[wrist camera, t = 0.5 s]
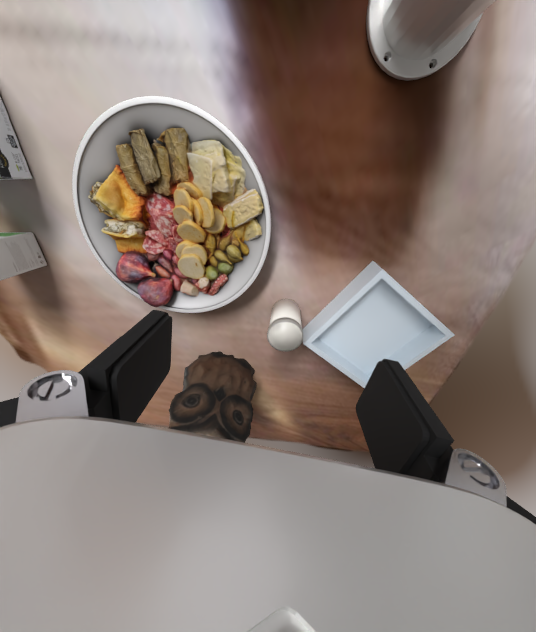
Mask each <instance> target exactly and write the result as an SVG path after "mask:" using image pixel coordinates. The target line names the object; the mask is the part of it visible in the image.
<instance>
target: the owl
mask: <svg viewBox="0 0 536 632" xmlns="http://www.w3.org/2000/svg"><path fill="white" fill-rule="evenodd" d="M254 372H255V370H254V369H253V368H252V367H251V365H250V364H249V363H248V362H247V361H246V360H245V359H241V358H240V359H237V358H234V356H233V355H225V354H223V353H222V352H212V353H210V354H207V355H200V356H199V357H198V359H197V360H195V361H194V362H193V363H192V364H191V365H189V366H188V367H186V368H185V372H184V382H183V385H184V388H183V391H182V392H180V393H178V394H176V395H175V397H174V399H173V400H172V401H171V405H170V409H169V412H170V424H169V429H174V430H180V431H185V432H190V433H196V434H201V435H206V436H212V437H217V438H222V439H227V440H233V441H238V442H243V443H245V441H246V439H247V438H248V436H249V435H250V429H251V422H252V417H253V408H252V405H251V400H252V398H253V395H254V392H255V390H256V382H255V381H254V380H253V378H252V376H253V374H254Z"/></svg>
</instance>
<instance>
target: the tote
mask: <svg viewBox="0 0 536 632" xmlns="http://www.w3.org/2000/svg"><path fill="white" fill-rule="evenodd" d="M453 336H454V334H453V333H452V332H451V331H450V330H449V329H448V328H447V327H446V326H445V325H443V324H442V323H441V322H440V321H439V320H438V319H437V318H436V317H435V316H434V315H432V314H431V313H430V312H429V311H428V310H427V309H426V308H425V307H424V306H423V305H421V304H420V303H419V302H418V301H417V300H416V299H415V298H414V297H413V296H412V295H410V294H409V293H408V292H407V291H406V290H405V289H404V288H403V287H402V286H401V285H399V284H398V283H397V282H396V281H395V280H394V279H393V278H392V277H391V276H390V275H389V274H387V273H386V272H385V271H384V270H383V269H382V268H381V267H380V266H378V265H377V264H376V263H375V262H374V261H372V262H371V263H370V264H369V265H368V266H367V267H366V268H365V269H364V270H363V271H362V272H361V273H360V274H359V275H358V276H356V277H355V278H354V279H353V280H352V281H351V282H350V283H349V284H348V285H347V286H346V287H345V288H344V289H343V290H342V291H341V292H340V293H339V294H338V295H337V296H336V297H335V298H334V299H333V300H332V301H331V302H330V303H329V304H328V305H327V306H326V307H325V308H324V309H323V310H322V311H321V312H320V313H319V314H318V315H317V316H316V317H315V318H313V319H312V320H311V321H310V322H309V323H308V324H307V325H306V326H305V327H304V328H303V344H304V345H305V346H307V347H308V348H310V349H311V350H312V351H314V352H315V353H316V354H318V355H319V356H321V357H322V358H323V359H325V360H326V361H327V362H329V363H330V364H332V365H333V366H334V367H336V368H337V369H338V370H340V371H341V372H343V373H344V374H345V375H347V376H348V377H349V378H351V379H352V380H354V381H355V382H356V383H358V384H359V385H360V386H362V387H363V388H365V386H366V384H367V382H368V380H369V378H370V376H371V375H372V373H373V371H374V369H375V367H376V365H377V363H378V362H379V361H382V360H383V359H389V360H394V361H398V362H399V363H400V364H401V366H402V367H403V369H404V370H405V369H407V368H408V367H410V366H411V365H413V364H414V363H416V362H417V361H418V360H420V359H421V358H423V357H424V356H426V355H427V354H428V353H430V352H431V351H433V350H434V349H436V348H437V347H438V346H440V345H441V344H443V343H444V342H446V341H447V340H448V339H450V338H451V337H453Z"/></svg>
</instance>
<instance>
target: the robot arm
mask: <svg viewBox="0 0 536 632" xmlns="http://www.w3.org/2000/svg"><path fill="white" fill-rule="evenodd" d="M495 1H496V0H369V3H368V8H367V21H366V28H367V39H368V43H369V47H370V51H371V53H372V55H373V57H374V59H375V61H376V63H377V64H378V65H379V67H380V68H381V69H382V70H383V71H384V72H385V73H387V74H388V75H389V76H392V77H394V78H396V79H400V80H406V81H408V80H417V79H420V78H424V77H427V76H429V75H430V74H432V73H434V72H436V71H438V70H439V69H440V68H442V67H443V66H444V65H446V64H447V63H448V62H449V61H450V60H451V59H452V58H453V57H455V56H456V55H457V54H458V52H459V51H460V50H461V49H462V48H463V46H464V45H465V44H466V43H467V41H468V40H469V38H470V37H471V35H472V33H473V32H474V30H475V29H476V26H477V24H478V22H479V20H480V18H481V16H482V14H483V12H484V11H485V10H486V9H487V8H488V7H489V6H490V5H491V4H492V3H494V2H495ZM384 58H387V61H384ZM429 64H430V65H431V68H430V67H429ZM171 338H172V317H170V316H169V315H168V313H167V312H162V311H157V310H153V311H151V312H150V313H149V314H148V315H147V316H145V317H144V318H143V319H142V320H141V321H140V322H138V323H137V324H136V325H135V326H134V327H132V328H131V329H130V330H129V331H128V332H127V333H125V334H124V335H123V336H121V337H120V338H119V339H117V340H116V341H115V342H114V343H113V344H112V345H110V346H109V347H108V348H107V349H106V350H104V351H103V352H102V353H101V354H100V355H98V356H97V357H96V358H95V359H94V360H93V361H91V362H90V363H89V364H88V365H87V366H85V367H84V368H83V369H82V370H81V371H79V372H74V371H69V370H60V371H53V372H49V373H46V374H43V375H40V376H38V377H36V378H34V379H33V380H31V381H29V382H28V383H27V384H26V385H25V386H24V387H23V388H22V389H21V392H20V394H19V397H18V398H14V399H10V400H7V401H3V402H0V632H536V517H535V516H533V515H532V514H531V513H529V512H528V511H527V510H525V509H524V508H522V507H521V506H520V505H518V504H517V503H516V502H514V501H513V500H511V499H510V498H509V497H507V496H506V487H505V483H504V481H503V480H502V478H501V476H500V475H499V474H498V473H497V471H496V470H495V469H494V468H493V467H492V466H491V465H490V464H488V462H486V461H485V460H483V459H482V458H481V457H479V456H478V455H476V454H474V453H472V452H470V451H467V450H464V449H456V450H453V449H452V447H451V446H450V445H451V443H453V441H454V440H453V438H452V437H451V435H450V434H449V433H448V431H447V430H446V428H445V427H444V426H443V424H442V423H441V421H440V420H439V419H438V417H437V416H436V414H435V413H434V411H433V410H432V409H431V407H430V406H429V404H428V403H427V401H426V400H425V399H424V397H423V396H422V394H421V393H420V391H419V390H418V389H417V387H416V386H415V384H414V383H413V381H412V380H411V379H410V377H409V376H408V374H407V373H406V371H405V370H404V369H403V367H402V366H401V364H400V363H399V362H398V361H394V360H389V359H383V360H382V361H379V362H378V363H377V365H376V367H375V369H374V371H373V373H372V375H371V376H370V378H369V380H368V382H367V384H366V386H365V388H364V390H363V392H362V394H361V396H360V398H359V400H358V402H357V405H356V413H357V416H358V418H359V421H360V424H361V427H362V430H363V433H364V436H365V439H366V442H367V445H368V448H369V451H370V454H371V457H372V459H373V463H374V466H375V468H370V467H365V466H360V465H355V464H350V463H345V462H340V461H335V460H330V459H325V458H320V457H315V456H310V455H305V454H300V453H295V452H290V451H284V450H279V449H274V448H269V447H264V446H259V445H254V444H248V443H243V442H238V441H233V440H227V439H222V438H217V437H212V436H206V435H201V434H196V433H190V432H185V431H180V430H174V429H169V428H163V427H158V426H152V425H146V424H140V423H135V422H136V421H137V419H138V418H139V416H140V415H141V413H142V412H143V410H144V409H145V407H146V406H147V404H148V403H149V401H150V400H151V398H152V397H153V395H154V394H155V392H156V391H157V389H158V388H159V386H160V385H161V383H162V382H163V380H164V379H165V377H166V376H167V374H168V372H169V370H170V364H171Z"/></svg>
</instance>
